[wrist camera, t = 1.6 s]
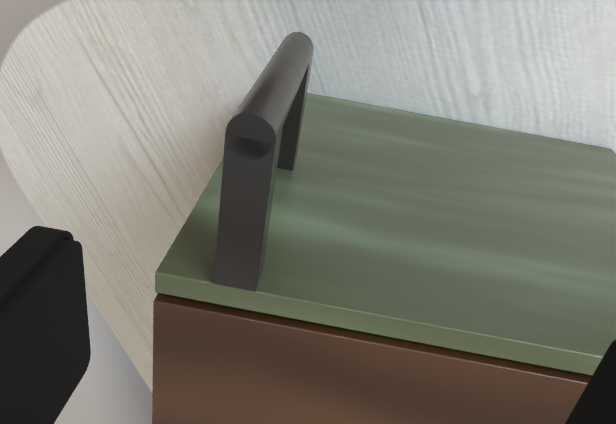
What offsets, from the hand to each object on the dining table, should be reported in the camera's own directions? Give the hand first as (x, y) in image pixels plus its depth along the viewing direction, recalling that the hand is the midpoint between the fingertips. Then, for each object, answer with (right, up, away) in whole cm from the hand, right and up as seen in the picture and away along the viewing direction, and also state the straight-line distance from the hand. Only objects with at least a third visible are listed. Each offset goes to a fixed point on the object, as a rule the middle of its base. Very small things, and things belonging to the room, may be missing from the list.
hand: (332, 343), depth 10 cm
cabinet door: (+10, +12, +29) cm, 33 cm away
